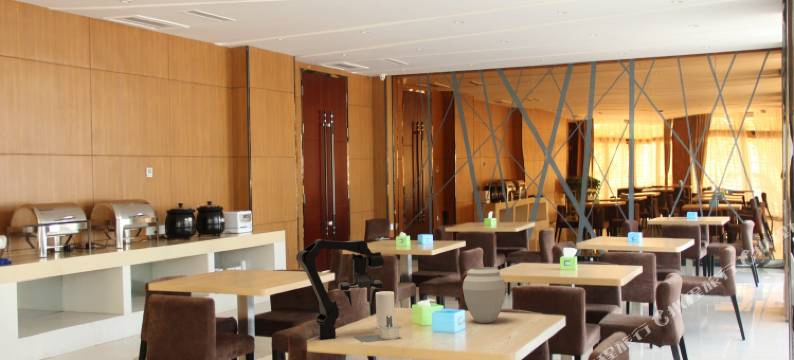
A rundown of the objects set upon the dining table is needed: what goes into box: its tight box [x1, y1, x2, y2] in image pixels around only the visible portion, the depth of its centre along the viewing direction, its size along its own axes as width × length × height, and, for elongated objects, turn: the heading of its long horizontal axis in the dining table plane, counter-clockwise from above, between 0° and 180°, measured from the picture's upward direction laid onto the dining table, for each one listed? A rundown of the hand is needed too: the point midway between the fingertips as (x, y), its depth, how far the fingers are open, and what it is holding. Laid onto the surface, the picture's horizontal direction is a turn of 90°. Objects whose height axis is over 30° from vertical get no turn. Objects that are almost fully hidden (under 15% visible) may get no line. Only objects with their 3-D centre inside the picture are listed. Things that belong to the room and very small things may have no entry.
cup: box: [375, 290, 396, 330], centre depth 361 cm, size 8×8×16 cm
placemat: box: [353, 333, 402, 343], centre depth 337 cm, size 17×14×1 cm
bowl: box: [379, 328, 400, 341], centre depth 336 cm, size 8×8×4 cm
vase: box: [462, 266, 507, 324], centre depth 368 cm, size 20×20×24 cm
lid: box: [378, 316, 402, 329], centre depth 336 cm, size 8×8×5 cm
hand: (361, 305), depth 349 cm, fingers open, 9 cm apart
